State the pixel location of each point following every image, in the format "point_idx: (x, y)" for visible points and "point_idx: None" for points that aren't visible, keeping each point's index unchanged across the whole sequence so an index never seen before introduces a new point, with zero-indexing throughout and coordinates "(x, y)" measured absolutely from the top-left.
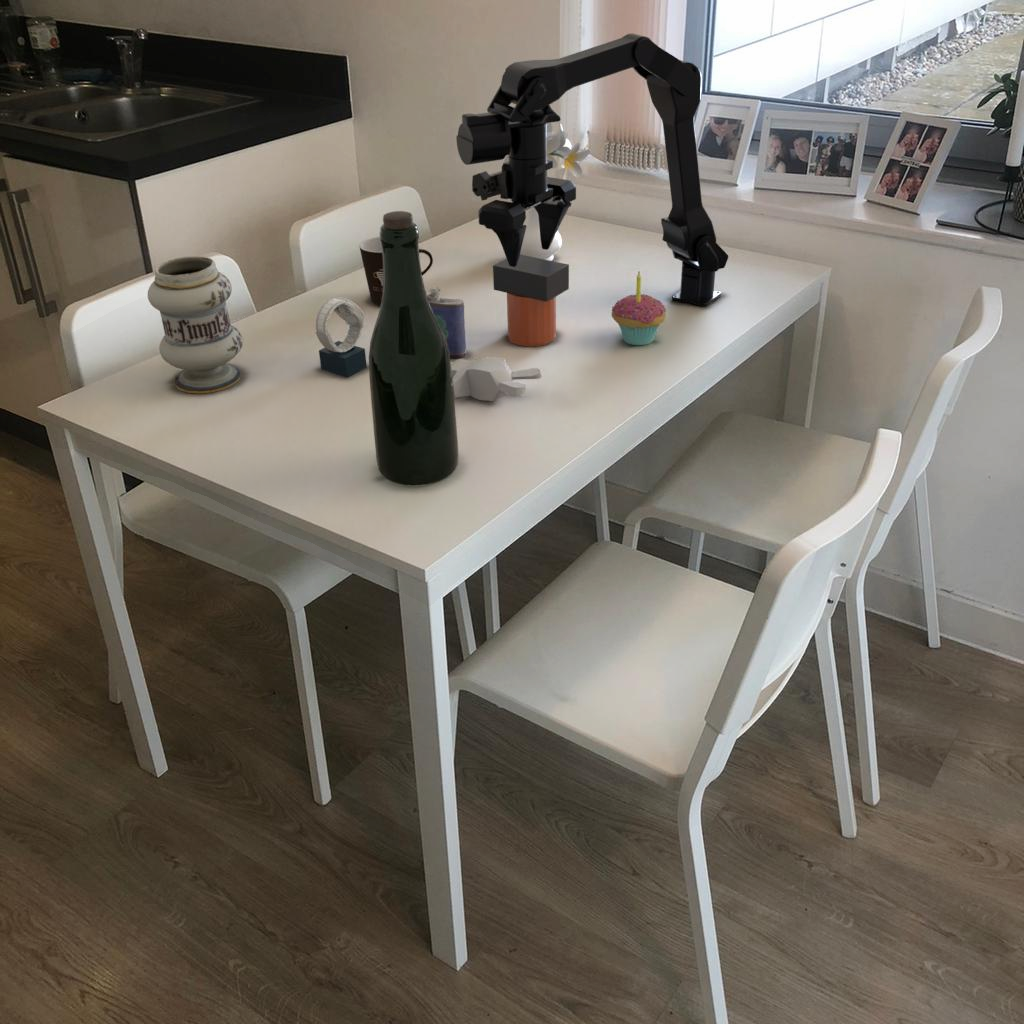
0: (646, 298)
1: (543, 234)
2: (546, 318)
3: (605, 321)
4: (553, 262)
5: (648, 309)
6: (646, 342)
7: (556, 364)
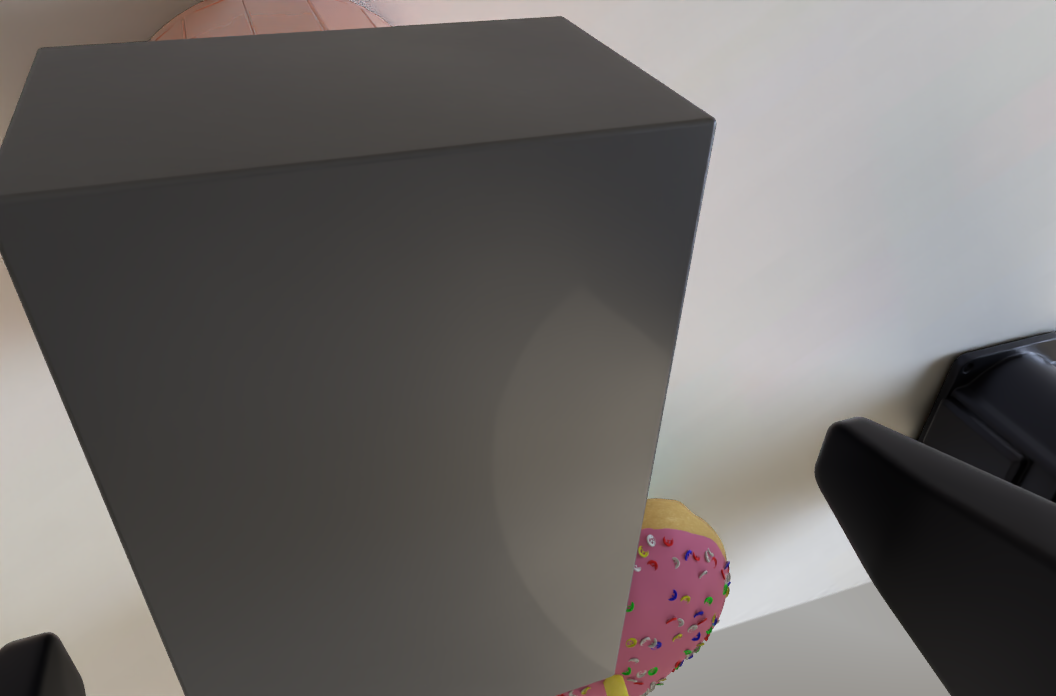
0: (655, 677)
1: (971, 574)
2: None
3: (683, 312)
4: (602, 597)
5: None
6: None
7: (91, 489)
